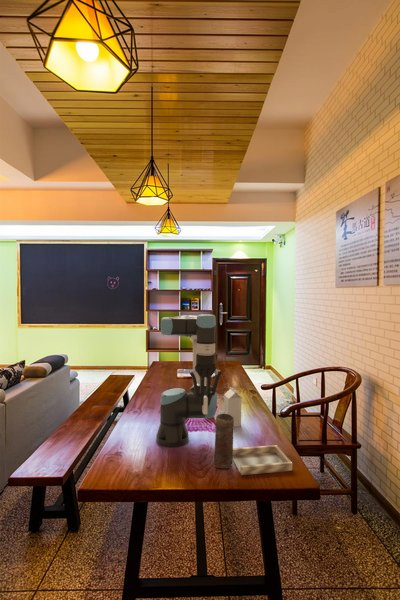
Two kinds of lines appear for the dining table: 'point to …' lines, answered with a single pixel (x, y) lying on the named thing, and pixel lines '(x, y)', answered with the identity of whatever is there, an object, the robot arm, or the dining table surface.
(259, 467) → the tray
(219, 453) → the candle
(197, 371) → the robot arm
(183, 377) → the dining table surface
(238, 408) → the milk carton
